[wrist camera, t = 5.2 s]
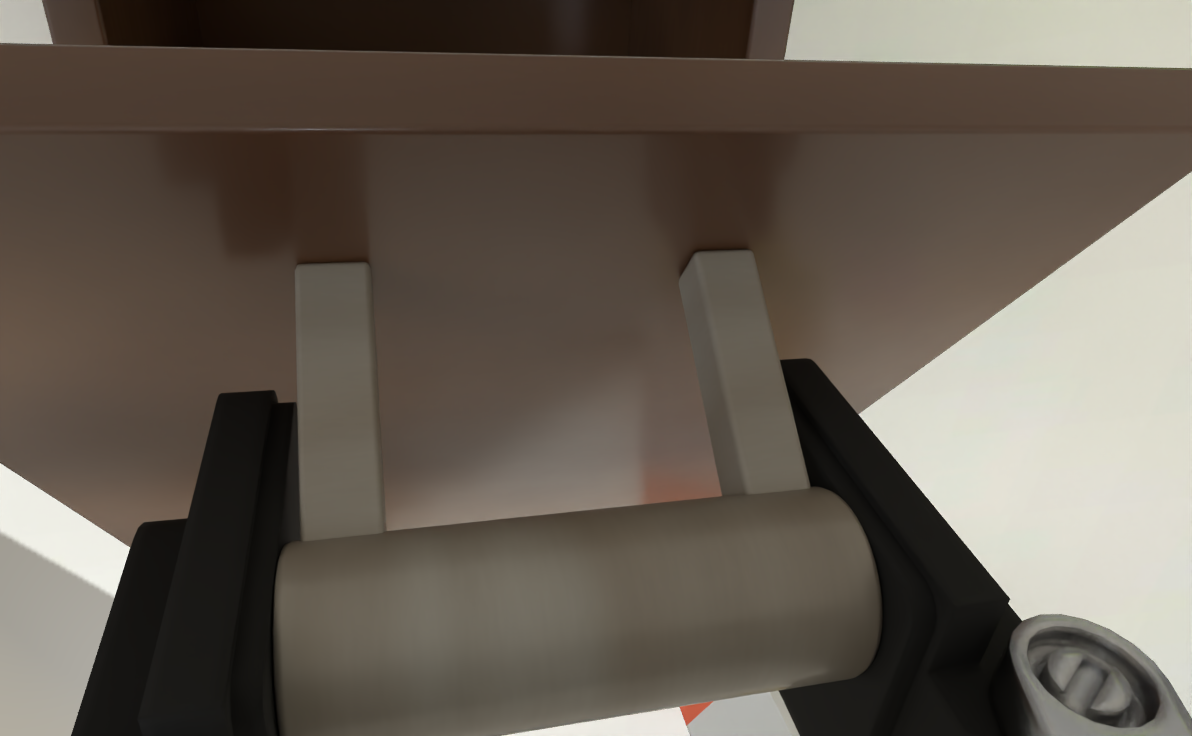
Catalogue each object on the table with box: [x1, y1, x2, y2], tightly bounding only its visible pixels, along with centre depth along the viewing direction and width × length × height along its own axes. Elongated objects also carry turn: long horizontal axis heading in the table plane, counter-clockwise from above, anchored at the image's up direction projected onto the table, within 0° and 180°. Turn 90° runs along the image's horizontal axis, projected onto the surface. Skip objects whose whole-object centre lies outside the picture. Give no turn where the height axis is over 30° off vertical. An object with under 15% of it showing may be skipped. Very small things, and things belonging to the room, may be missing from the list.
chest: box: [42, 0, 794, 60], centre depth 22 cm, size 16×14×10 cm
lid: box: [0, 43, 1192, 736], centre depth 14 cm, size 17×14×5 cm
